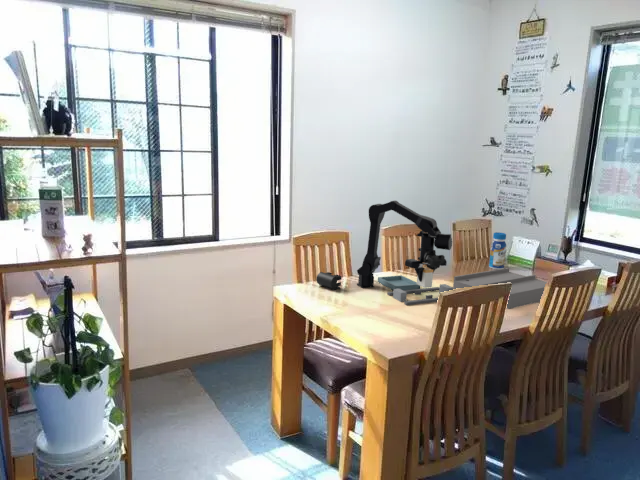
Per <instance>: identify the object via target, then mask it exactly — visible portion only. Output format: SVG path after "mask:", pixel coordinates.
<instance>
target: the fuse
mask: <svg viewBox="0 0 640 480" xmlns="http://www.w3.org/2000/svg"><path fill="white" fill-rule="evenodd" d="M423 268H424V270H423V274H422V282H420V281H419V278H418V276H417V275H416V282H417V285H420V287H422V288H432V287H433V278H434V273H433V269H431V268H428V267H427V265H423Z"/></svg>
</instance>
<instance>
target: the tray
mask: <svg viewBox="0 0 640 480" xmlns="http://www.w3.org/2000/svg"><path fill="white" fill-rule="evenodd" d="M378 282H379V283H378ZM377 283H378V284H380V283H381V284H380V285H382V286H384V287H386V288H387V289H390V290H392V291H394V289H401V290H412V289H421V286H420V285H417V281H414V280H413V279H410V278H408V277H406V276H404V275H402V274H401V275H390V276H378V277H377Z"/></svg>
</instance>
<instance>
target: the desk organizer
mask: <svg viewBox="0 0 640 480" xmlns="http://www.w3.org/2000/svg"><path fill="white" fill-rule="evenodd" d="M536 275H537V274H532V275H523V274H519V273H516V272H512V271H510V267H506V268H505V267H504V268H503V269H493V270H487V271H480V272H475V273H468V274H461V275H456V276H453V283H452V284H453V286H452V287H453V289H456V288H464V287H472V286H479V285H488V284H498V283H507V282H511V283H512V289H511V292H510V296H509V300H508V304H507V308H506V309H508V310H510V309H516V308H519V307H523V306H528V305H532V304H537V303H541V302H540V299H541V296H542V294H543V291H544V287H545V284H546V283H547V282H548V281H544V280H541V279H537V278H536V277H537V276H536Z"/></svg>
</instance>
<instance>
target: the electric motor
mask: <svg viewBox="0 0 640 480" xmlns="http://www.w3.org/2000/svg"><path fill="white" fill-rule="evenodd" d="M341 280H342V276H341V275H340V274H333V273H332V272H330V271H327V272H323V271H320V272H319V273H318V274H317V275H316V283H317V285H319V286H321V287H324V288H326V289H329V290H333V291H337V290H340V289H341V286H342V282H341ZM338 281H340V282H338Z"/></svg>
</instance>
